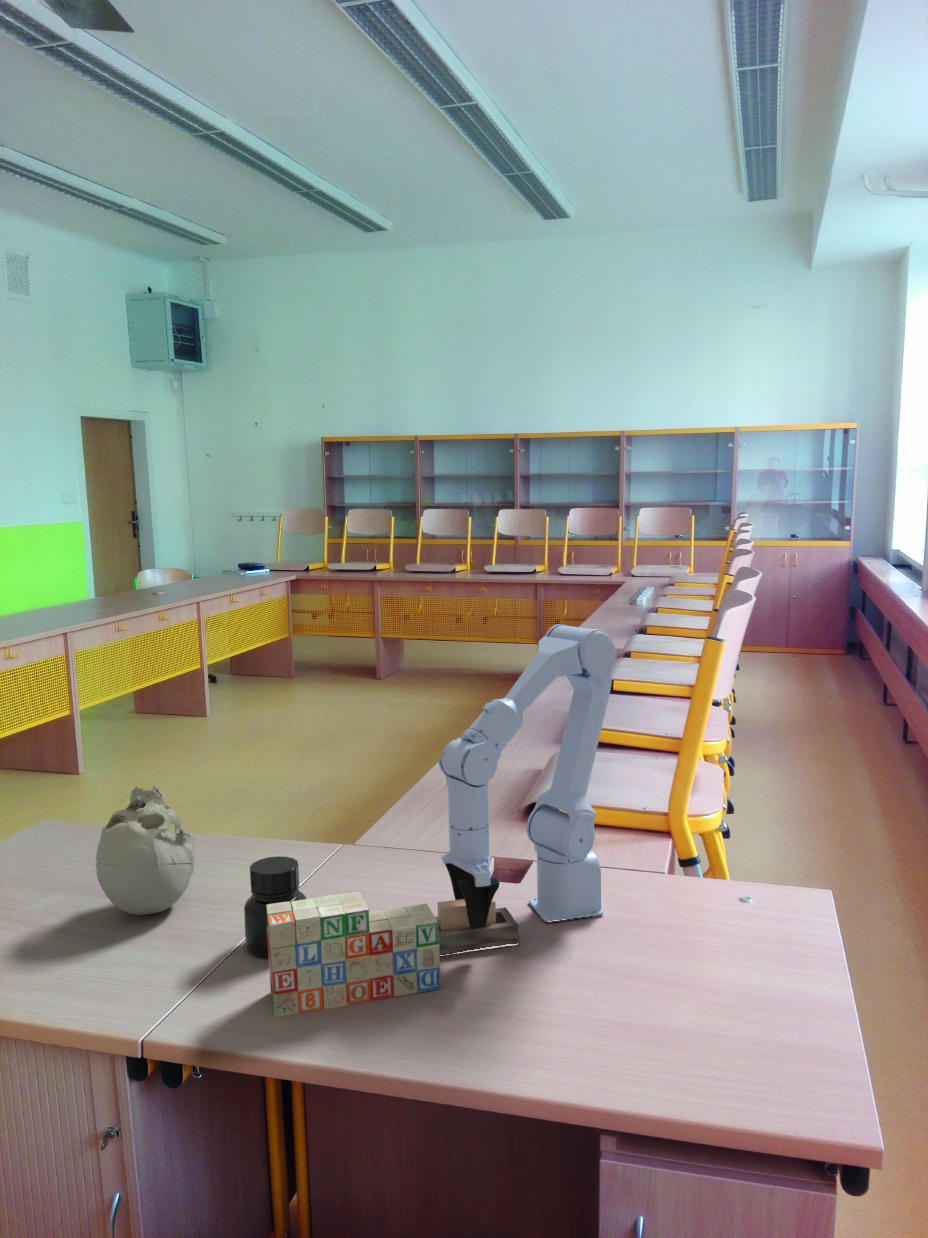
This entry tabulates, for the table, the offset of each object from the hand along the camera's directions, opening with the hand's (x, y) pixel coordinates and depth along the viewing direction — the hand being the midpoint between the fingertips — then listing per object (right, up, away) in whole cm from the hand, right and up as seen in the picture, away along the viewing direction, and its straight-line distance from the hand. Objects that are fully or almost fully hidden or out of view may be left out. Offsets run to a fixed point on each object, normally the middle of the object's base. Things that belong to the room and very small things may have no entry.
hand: (470, 915), depth 130 cm
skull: (-51, -4, +12) cm, 52 cm away
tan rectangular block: (-1, -3, 0) cm, 3 cm away
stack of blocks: (-15, -6, -13) cm, 21 cm away
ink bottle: (-28, -5, +1) cm, 28 cm away
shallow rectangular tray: (0, -4, 0) cm, 4 cm away
